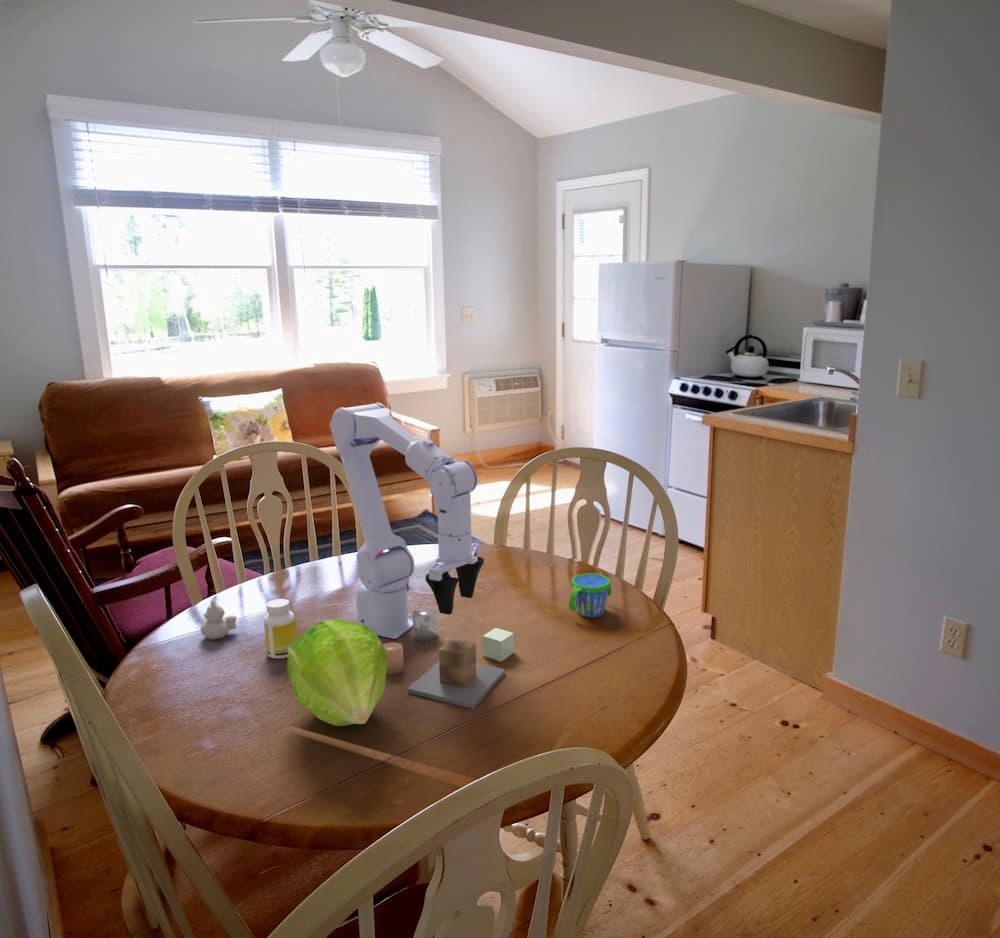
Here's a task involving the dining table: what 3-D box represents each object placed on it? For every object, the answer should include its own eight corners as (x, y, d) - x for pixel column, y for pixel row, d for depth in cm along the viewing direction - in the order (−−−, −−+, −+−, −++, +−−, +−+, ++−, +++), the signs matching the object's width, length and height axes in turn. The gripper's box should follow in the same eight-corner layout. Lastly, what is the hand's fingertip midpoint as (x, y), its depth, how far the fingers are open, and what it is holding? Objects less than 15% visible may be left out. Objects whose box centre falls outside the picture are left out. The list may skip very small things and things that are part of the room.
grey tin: (409, 639, 137) (408, 615, 136) (421, 630, 141) (420, 606, 140) (429, 643, 135) (428, 618, 134) (440, 633, 139) (439, 609, 138)
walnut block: (440, 682, 119) (438, 649, 118) (452, 670, 123) (451, 638, 122) (464, 688, 117) (463, 654, 116) (476, 675, 121) (475, 642, 120)
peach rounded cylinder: (376, 671, 125) (375, 650, 124) (389, 661, 129) (387, 640, 128) (395, 676, 123) (394, 654, 122) (408, 665, 127) (407, 644, 126)
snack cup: (582, 628, 140) (582, 592, 139) (556, 615, 146) (556, 580, 145) (623, 613, 147) (624, 579, 145) (597, 601, 153) (598, 568, 151)
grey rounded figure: (201, 635, 140) (196, 596, 138) (236, 627, 143) (232, 590, 141) (203, 646, 135) (198, 606, 134) (239, 638, 138) (235, 600, 136)
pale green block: (483, 656, 130) (482, 635, 129) (495, 647, 133) (495, 627, 132) (501, 662, 128) (501, 641, 127) (513, 653, 131) (513, 633, 130)
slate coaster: (408, 693, 118) (407, 688, 118) (443, 660, 128) (443, 656, 128) (473, 708, 113) (473, 704, 113) (505, 673, 123) (504, 669, 123)
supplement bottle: (303, 648, 134) (299, 599, 131) (283, 662, 129) (279, 611, 127) (281, 643, 136) (276, 595, 134) (260, 656, 131) (255, 606, 129)
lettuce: (302, 781, 96) (292, 678, 93) (288, 698, 117) (280, 611, 113) (409, 756, 101) (404, 657, 98) (378, 681, 122) (373, 597, 118)
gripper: (454, 547, 116) (456, 625, 119) (493, 522, 128) (494, 593, 132) (417, 541, 119) (420, 617, 122) (459, 517, 131) (461, 587, 135)
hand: (456, 604), depth 127 cm, fingers open, 7 cm apart
